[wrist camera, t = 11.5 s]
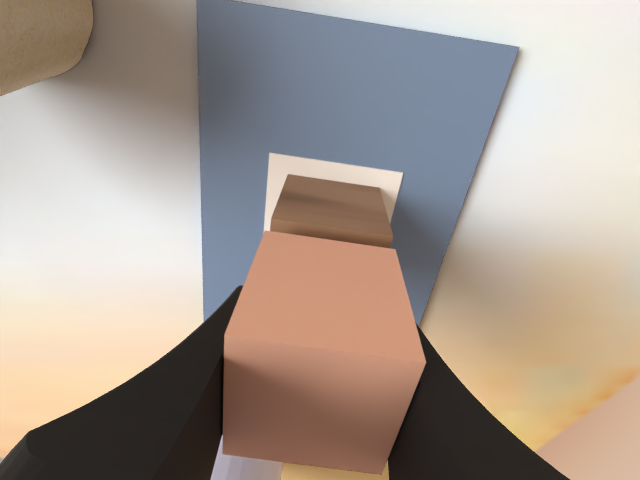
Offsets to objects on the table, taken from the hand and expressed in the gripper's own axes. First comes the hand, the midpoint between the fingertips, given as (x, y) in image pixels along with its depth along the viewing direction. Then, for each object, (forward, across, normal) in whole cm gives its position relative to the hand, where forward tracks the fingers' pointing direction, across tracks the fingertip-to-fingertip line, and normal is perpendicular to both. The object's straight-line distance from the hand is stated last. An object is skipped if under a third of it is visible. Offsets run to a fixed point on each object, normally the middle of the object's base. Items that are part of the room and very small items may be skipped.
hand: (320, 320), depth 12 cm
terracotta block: (+1, 0, 0) cm, 1 cm away
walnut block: (+7, 0, 0) cm, 7 cm away
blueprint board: (+8, 0, 0) cm, 8 cm away
